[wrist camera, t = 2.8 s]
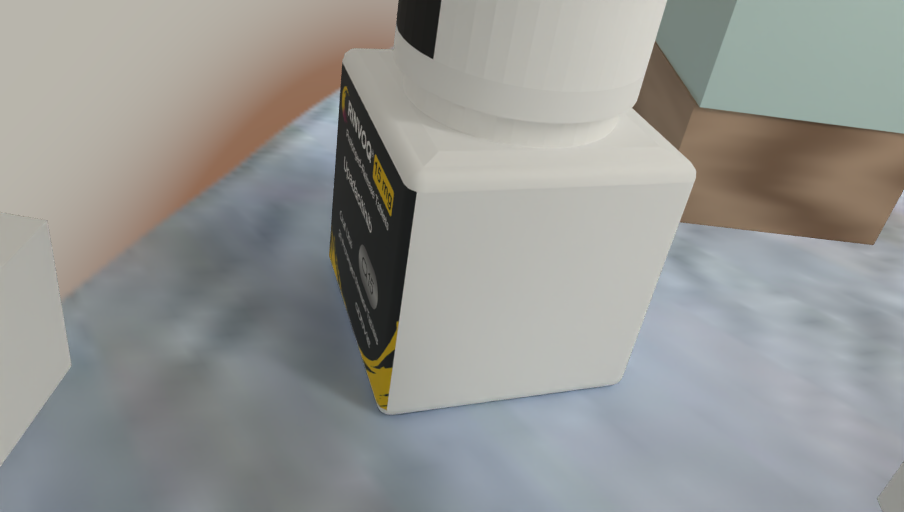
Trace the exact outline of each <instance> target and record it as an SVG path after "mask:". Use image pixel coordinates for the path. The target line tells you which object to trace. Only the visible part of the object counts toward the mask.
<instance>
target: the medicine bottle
mask: <svg viewBox="0 0 904 512" xmlns="http://www.w3.org/2000/svg"><path fill="white" fill-rule="evenodd" d="M666 3H667V0H399V3H398V12H397V21H396V31H395V40H394V49H356V48H355V49H351V50H349V51H348V52H346V53H345V55H344V58H343V62H342V76H341V90H340V105H339V120H338V134H337V149H336V164H335V178H334V193H333V208H332V222H331V237H330V251H329V257H330V260H331V264H332V267H333V270H334V273H335V276H336V279H337V282H338V285H339V288H340V291H341V295H342V298H343V301H344V304H345V307H346V310H347V313H348V316H349V319H350V322H351V326H352V329H353V332H354V335H355V338H356V341H357V344H358V347H359V350H360V354H361V357H362V360H363V363H364V366H365V369H366V372H367V375H368V378H369V381H370V385H371V388H372V391H373V394H374V397H375V400H376V403H377V406H378V408H379V409H380V411H381V412H383V413H385V414H391V415H394V414H402V413H409V412H416V411H424V410H431V409H438V408H446V407H453V406H461V405H468V404H475V403H483V402H490V401H497V400H505V399H512V398H520V397H527V396H534V395H542V394H549V393H557V392H564V391H571V390H579V389H586V388H593V387H601V386H608V385H614V384H617V383H618V382H619V381H620V380H621V379H622V377H623V375H624V372H625V369H626V366H627V364H628V361H629V358H630V356H631V353H632V350H633V347H634V345H635V342H636V339H637V337H638V334H639V331H640V328H641V326H642V323H643V320H644V317H645V315H646V312H647V309H648V307H649V304H650V301H651V298H652V296H653V293H654V290H655V288H656V285H657V282H658V279H659V277H660V274H661V271H662V269H663V266H664V263H665V260H666V258H667V255H668V252H669V250H670V247H671V244H672V241H673V239H674V236H675V233H676V231H677V228H678V225H679V222H680V220H681V217H682V214H683V212H684V209H685V206H686V203H687V201H688V198H689V195H690V193H691V190H692V187H693V184H694V182H695V179H696V169H695V168H694V166H693V165H692V163H691V162H690V161H689V160H688V159H687V158H686V157H685V156H684V155H683V154H682V153H680V152H679V151H678V150H677V149H676V148H675V147H674V146H673V145H672V144H671V143H670V142H669V141H667V140H666V139H665V138H664V137H663V136H662V135H661V134H660V133H659V132H658V131H657V130H655V129H654V128H653V127H652V126H651V125H650V124H649V123H648V122H647V121H646V120H645V119H643V118H642V117H641V116H640V115H639V114H638V113H637V112H636V111H635V110H634V109H633V108H632V107H633V106H634V105H635V103H636V102H637V99H638V96H639V93H640V89H641V86H642V83H643V79H644V76H645V73H646V69H647V66H648V63H649V59H650V56H651V53H652V50H653V46H654V43H655V40H656V36H657V33H658V30H659V26H660V23H661V20H662V16H663V13H664V10H665V6H666Z"/></svg>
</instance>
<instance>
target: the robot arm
mask: <svg viewBox="0 0 904 512" xmlns="http://www.w3.org/2000/svg"><path fill="white" fill-rule="evenodd" d="M71 366H72V365H71V359H70V353H69V347H68V341H67V335H66V329H65V323H64V317H63V311H62V305H61V299H60V293H59V286H58V281H57V275H56V268H55V263H54V256H53V250H52V244H51V239H50V232H49V227H48V221H47V220H42V219H37V218H31V217H24V216H19V215H13V214H7V213H2V212H0V467H1V465H2V464H3V462H4V461H5V459H6V458H7V457H8V455H9V454H10V452H11V451H12V450H13V448H14V447H15V445H16V444H17V442H18V441H19V440H20V438H21V437H22V435H23V434H24V433H25V431H26V430H27V428H28V427H29V425H30V424H31V423H32V421H33V420H34V418H35V417H36V416H37V414H38V413H39V411H40V410H41V409H42V407H43V406H44V404H45V403H46V401H47V400H48V399H49V397H50V396H51V394H52V393H53V392H54V390H55V389H56V387H57V386H58V384H59V383H60V382H61V380H62V379H63V377H64V376H65V375H66V373H67V372H68V370H69V369H70V367H71ZM877 500H878V502H879V505H880V507H881V509H882V511H883V512H904V462H903V463H902V464H901V466H900V467H899V469H898V470H897V471H896V473H895V474H894V476H893V477H892V478H891V480H890V481H889V483H888V484H887V485H886V487H885V488H884V490H883V491H882V492H881V494H880V495H879V497H878V498H877Z"/></svg>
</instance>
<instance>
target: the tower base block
mask: <svg viewBox="0 0 904 512" xmlns="http://www.w3.org/2000/svg"><path fill="white" fill-rule="evenodd" d="M632 108H633V109H634V110H635V111H636V112H637V113H638V114H639V115H640V116H641V117H642V118H643V119H645V120H646V121H647V122H648V123H649V124H650V125H651V126H652V127H653V128H654V129H655V130H657V131H658V132H659V133H660V134H661V135H662V136H663V137H664V138H665V139H666V140H667V141H669V142H670V143H671V144H672V145H673V146H674V147H675V148H676V149H677V150H678V151H679V152H680V153H682V154H683V155H684V156H685V157H686V158H687V159H688V160H689V161H690V162H691V163H692V165H693V166H694V168H695V169H696V179H695V182H694V184H693V187H692V190H691V193H690V195H689V198H688V201H687V203H686V206H685V209H684V212H683V214H682V217H681V220H680V222H683V223H691V224H700V225H708V226H717V227H725V228H734V229H742V230H751V231H759V232H767V233H776V234H784V235H793V236H801V237H810V238H818V239H827V240H835V241H844V242H852V243H861V244H869V245H874V243H875V241H876V239H877V238H878V236H879V234H880V232H881V230H882V228H883V227H884V225H885V223H886V221H887V219H888V217H889V216H890V214H891V212H892V210H893V208H894V207H895V205H896V203H897V201H898V199H899V197H900V196H901V194H902V192H903V190H904V134H903V133H895V132H887V131H880V130H872V129H864V128H856V127H849V126H841V125H833V124H826V123H818V122H810V121H803V120H795V119H787V118H779V117H772V116H764V115H756V114H749V113H741V112H733V111H726V110H718V109H710V108H702V107H699V105H698V104H697V102H696V101H695V99H694V98H693V96H692V95H691V93H690V92H689V90H688V89H687V87H686V86H685V84H684V83H683V81H682V80H681V78H680V77H679V75H678V74H677V72H676V71H675V69H674V68H673V66H672V65H671V63H670V62H669V60H668V59H667V58H666V56H665V55H664V53H663V52H662V50H661V49H660V47H659V46H658V44H657V43H656V41H655V43H654V46H653V50H652V53H651V56H650V59H649V63H648V66H647V69H646V73H645V76H644V79H643V83H642V86H641V89H640V93H639V96H638V99H637V102H636V103H635V105H634V106H633V107H632Z"/></svg>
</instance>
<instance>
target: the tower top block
mask: <svg viewBox="0 0 904 512" xmlns="http://www.w3.org/2000/svg"><path fill="white" fill-rule="evenodd" d="M655 41H656V43H657V44H658V46H659V47H660V49H661V50H662V52H663V53H664V55H665V56H666V58H667V59H668V60H669V62H670V63H671V65H672V66H673V68H674V69H675V71H676V72H677V74H678V75H679V77H680V78H681V80H682V81H683V83H684V84H685V86H686V87H687V89H688V90H689V92H690V93H691V95H692V96H693V98H694V99H695V101H696V102H697V104H698V105H699V107H702V108H710V109H718V110H726V111H733V112H741V113H749V114H756V115H764V116H772V117H779V118H787V119H795V120H803V121H810V122H818V123H826V124H833V125H841V126H849V127H856V128H864V129H872V130H880V131H887V132H895V133H903V134H904V0H667V3H666V6H665V10H664V13H663V16H662V20H661V23H660V26H659V30H658V33H657V36H656V40H655Z"/></svg>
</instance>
